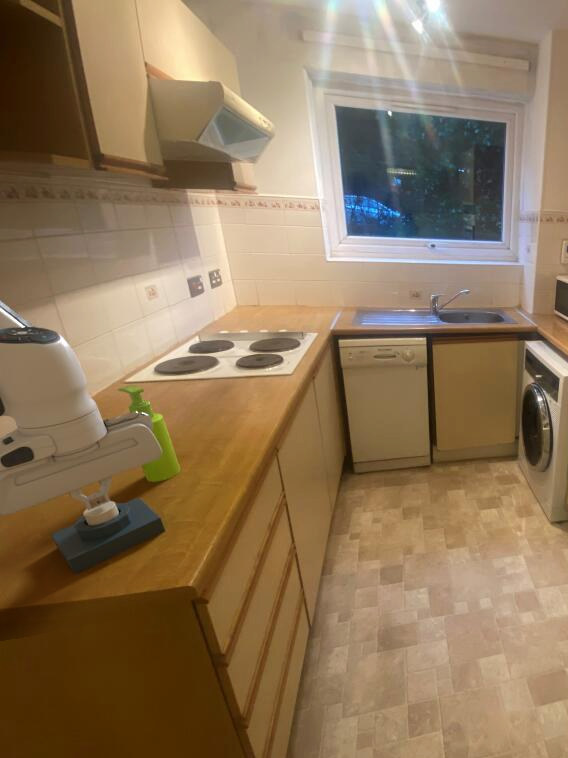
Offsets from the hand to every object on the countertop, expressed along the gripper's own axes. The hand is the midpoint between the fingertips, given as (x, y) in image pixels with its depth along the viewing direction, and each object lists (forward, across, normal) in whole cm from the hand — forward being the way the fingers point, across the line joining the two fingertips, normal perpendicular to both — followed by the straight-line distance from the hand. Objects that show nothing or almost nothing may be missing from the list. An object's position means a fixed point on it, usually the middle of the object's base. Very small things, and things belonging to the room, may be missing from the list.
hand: (98, 504), depth 72 cm
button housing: (+7, 0, 0) cm, 7 cm away
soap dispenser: (+8, -13, -16) cm, 22 cm away
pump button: (+3, 0, 0) cm, 3 cm away
